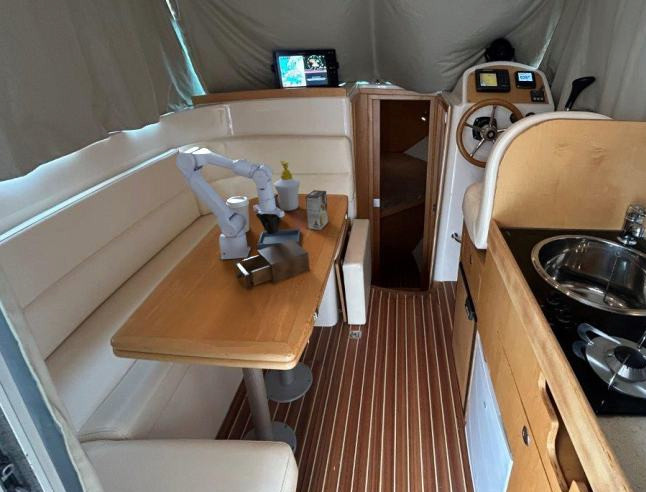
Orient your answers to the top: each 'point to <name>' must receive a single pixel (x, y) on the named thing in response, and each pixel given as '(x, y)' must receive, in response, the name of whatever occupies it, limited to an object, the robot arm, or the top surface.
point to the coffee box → (317, 209)
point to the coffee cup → (240, 207)
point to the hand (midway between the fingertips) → (271, 230)
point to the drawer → (253, 271)
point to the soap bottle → (287, 189)
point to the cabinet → (285, 260)
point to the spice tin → (268, 227)
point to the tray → (278, 238)
